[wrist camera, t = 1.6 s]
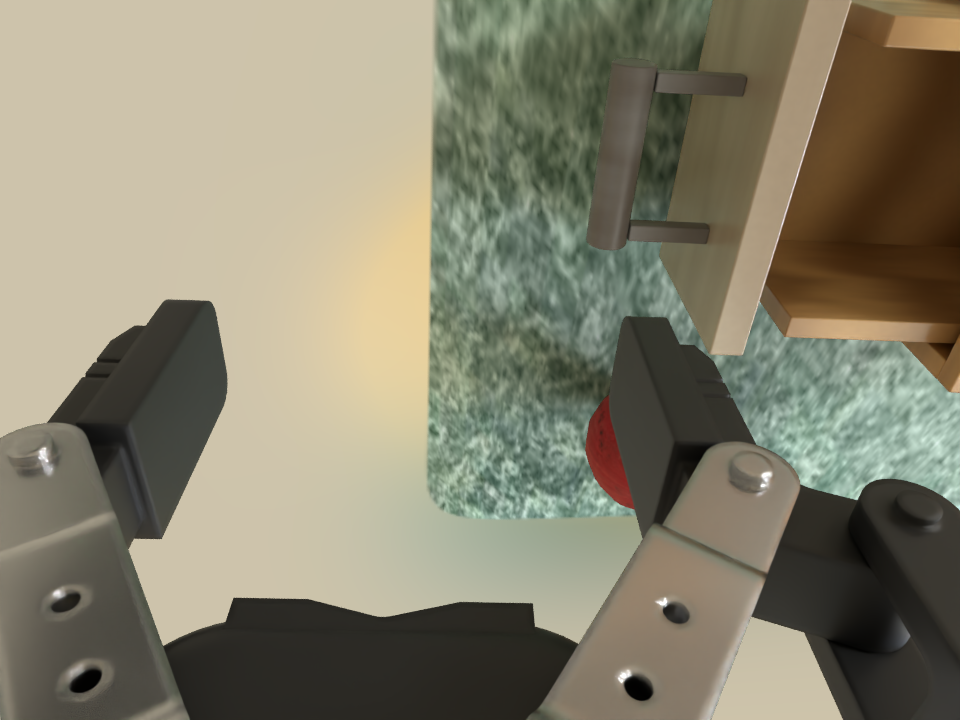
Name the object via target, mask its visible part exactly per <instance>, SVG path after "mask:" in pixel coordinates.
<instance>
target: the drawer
mask: <svg viewBox="0 0 960 720" xmlns="http://www.w3.org/2000/svg"><path fill="white" fill-rule="evenodd" d="M653 90H654V91H655V92H656V93H675V94H693V97H692V101H691V106H690V111H689V116H688V120H687V125H686V130H685V135H684V139H683V144H682V149H681V154H680V159H679V163H678V168H677V173H676V178H675V182H674V187H673V192H672V197H671V201H670V206H669V211H668V216H667V220H666V221H652V220H630V218H631V212H632V206H633V201H634V195H635V190H636V184H637V179H638V173H639V167H640V162H641V156H642V151H643V145H644V140H645V134H646V128H647V123H648V117H649V112H650V106H651V101H652V95H653ZM627 239H628V240H629V241H644V242H662V244H661V249H660V254H659V257H660V259H661V261H662V263H663V265H664V266H665V268H666V270H667V272H668V274H669V276H670V278H671V280H672V282H673V284H674V286H675V288H676V290H677V292H678V294H679V296H680V298H681V300H682V302H683V304H684V306H685V308H686V310H687V311H688V313H689V315H690V317H691V319H692V321H693V323H694V325H695V327H696V329H697V331H698V333H699V335H700V337H701V339H702V341H703V343H704V345H705V347H706V349H707V351H708V353H709V354H713V355H743V353H744V349H745V346H746V343H747V340H748V336H749V333H750V330H751V327H752V323H753V320H754V317H755V314H756V310H757V307H758V304H759V301H760V302H761V304H762V305H763V307H764V308H765V310H766V311H767V312H768V314H769V315H770V317H771V318H772V320H773V321H774V322H775V324H776V325H777V327H778V328H779V330H780V331H781V333H782V334H783V335H784V337H800V338H826V339H853V340H879V341H906V342H933V343H956V341H957V339H958V337H959V335H960V0H713V1H712V6H711V11H710V16H709V20H708V25H707V30H706V35H705V39H704V44H703V49H702V54H701V59H700V63H699V68H698V71H687V70H668V69H657V64H656V63H654V62H651V61H648V60H643V59H635V58H619V59H615V60H613V61H612V64H611V71H610V78H609V85H608V92H607V98H606V105H605V112H604V119H603V126H602V133H601V140H600V147H599V153H598V160H597V167H596V174H595V181H594V188H593V195H592V202H591V208H590V215H589V222H588V229H587V236H586V241H587V243H588V244H589V245H591V246H593V247H595V248H598V249H603V250H618V249H621V248H623V247H624V246H625V244H626V240H627Z"/></svg>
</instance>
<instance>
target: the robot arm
mask: <svg viewBox="0 0 960 720" xmlns="http://www.w3.org/2000/svg"><path fill="white" fill-rule="evenodd" d="M226 394H227V372H226V366H225V360H224V354H223V349H222V344H221V338H220V333H219V327H218V322H217V316H216V312H215V308H214V306H213V304H212V303H211V302H210V301H195V300H165V301H164V302H163V303H162V304H161V306H160V307H159V308H158V310H157V311H156V312H155V314H154V315H153V317H152V318H151V319H150V321H149V322H148V323H147V325H146V326H134V327H132V328H130V329H129V330H127V331H126V332H124V333H122V334H121V335H119V336H118V337H116V338H115V339H113V340H111V341H110V343H109V344H108V345H107V346H106V348H105V349H104V350H103V352H102V353H101V354H100V356H99V357H98V358H97V362H94V363H93V364H92V366H91V367H90V368H89V370H88V371H87V372H86V376H85V377H83V378H81V380H80V381H79V382H78V384H77V385H76V386H75V387H74V389H73V390H72V391H71V393H70V394H69V395H68V397H67V398H66V399H65V401H64V402H63V403H62V404H61V406H60V407H59V408H58V409H57V411H56V412H55V413H54V415H53V416H52V417H51V418H50V420H49V421H48V422H47V423H43V424H36V425H32V426H28V427H25V428H22V429H19V430H16V431H14V432H11V433H9V434H7V435H5V436H3V437H1V438H0V718H1V720H711V719H712V716H713V714H714V711H715V709H716V706H717V703H718V701H719V698H720V696H721V693H722V690H723V688H724V685H725V683H726V680H727V678H728V675H729V673H730V670H731V667H732V665H733V662H734V660H735V657H736V655H737V652H738V649H739V647H740V644H741V642H742V639H743V637H744V634H745V632H746V629H747V626H748V624H749V621H750V619H751V617H754V618H758V619H761V620H764V621H768V622H771V623H774V624H778V625H781V626H784V627H788V628H791V629H794V630H798V631H801V632H804V633H805V635H806V637H807V640H808V642H809V644H810V646H811V649H812V651H813V653H814V655H815V658H816V660H817V662H818V664H819V667H820V669H821V671H822V673H823V676H824V678H825V680H826V682H827V684H828V687H829V689H830V691H831V693H832V696H833V698H834V700H835V702H836V705H837V707H838V709H839V711H840V714H841V716H842V718H843V720H960V511H959V509H958V508H957V507H955V506H954V505H953V504H952V503H951V502H950V501H948V500H947V499H945V498H944V497H943V496H941V495H939V494H938V493H936V492H934V491H932V490H930V489H928V488H926V487H923V486H921V485H918V484H915V483H912V482H908V481H904V480H898V479H881V480H876V481H873V482H870V483H869V484H868V485H866V486H865V487H864V489H863V490H862V492H861V494H860V496H859V498H858V500H854V499H850V498H846V497H842V496H838V495H834V494H830V493H826V492H822V491H818V490H814V489H811V488H808V487H805V486H803V485H800V480H799V477H798V475H797V473H796V472H795V470H794V469H793V468H792V466H791V465H790V464H789V463H788V462H787V461H785V460H784V459H783V458H782V457H780V456H779V455H777V454H776V453H774V452H772V451H770V450H768V449H766V448H763V447H760V446H757V445H756V443H755V441H754V439H753V437H752V435H751V434H750V432H749V430H748V428H747V426H746V424H745V422H744V420H743V418H742V416H741V414H740V412H739V410H738V408H737V406H736V404H735V402H734V400H733V398H730V393H729V391H728V389H727V387H726V385H725V383H723V379H722V377H721V375H720V373H719V371H718V369H717V367H716V365H715V363H714V361H712V360H711V359H710V358H709V357H708V356H706V355H705V354H704V353H703V352H702V351H700V350H699V349H698V348H697V347H696V346H695V345H679V342H678V340H677V338H676V336H675V334H674V331H673V329H672V327H671V325H670V323H669V321H668V319H667V318H661V317H632V316H626V317H625V318H624V319H623V322H622V325H621V329H620V335H619V340H618V346H617V351H616V356H615V362H614V367H613V373H612V378H611V383H610V391H609V411H610V418H611V422H612V426H613V429H614V433H615V437H616V441H617V444H618V448H619V452H620V456H621V459H622V463H623V467H624V471H625V474H626V478H627V482H628V486H629V489H630V493H631V497H632V501H633V505H634V508H635V512H636V516H637V520H638V523H639V527H640V531H641V535H642V538H643V540H642V541H641V543H640V545H639V546H638V548H637V550H636V551H635V553H634V554H633V556H632V558H631V559H630V561H629V563H628V564H627V566H626V568H625V569H624V571H623V573H622V574H621V576H620V577H619V579H618V581H617V582H616V584H615V586H614V587H613V589H612V590H611V592H610V594H609V595H608V597H607V599H606V600H605V602H604V604H603V605H602V607H601V608H600V610H599V612H598V614H597V615H596V617H595V618H594V620H593V622H592V623H591V625H590V627H589V628H588V630H587V631H586V633H585V635H584V636H583V638H582V640H581V641H580V643H579V644H578V643H576V642H573V641H572V640H570V639H568V638H566V637H564V636H561V635H559V634H556V633H553V632H551V631H548V630H545V629H541V628H538V627H535V623H534V612H533V604H532V603H530V604H529V603H482V602H481V603H479V602H459V603H453V604H449V605H443V606H439V607H434V608H429V609H424V610H419V611H414V612H409V613H405V614H400V615H395V616H390V617H377V616H372V615H368V614H364V613H360V612H356V611H352V610H348V609H345V608H340V607H336V606H332V605H328V604H325V603H321V602H317V601H313V600H309V599H270V598H269V599H267V598H233V601H232V604H231V607H230V610H229V613H228V616H227V620H226V622H224V623H219V624H215V625H212V626H209V627H205V628H202V629H199V630H196V631H194V632H191V633H189V634H187V635H184V636H182V637H179V638H178V639H176V640H174V641H172V642H170V643H168V644H166V645H164V646H163V645H162V642H161V640H160V637H159V634H158V631H157V628H156V625H155V623H154V620H153V617H152V614H151V612H150V609H149V606H148V603H147V601H146V598H145V595H144V592H143V590H142V587H141V584H140V581H139V578H138V575H137V573H136V570H135V567H134V564H133V562H132V559H131V556H130V553H129V550H128V549H129V547H130V545H131V543H132V541H133V539H134V538H135V539H162V537H163V535H164V533H165V531H166V528H167V526H168V524H169V522H170V520H171V518H172V515H173V513H174V511H175V509H176V507H177V505H178V503H179V500H180V498H181V496H182V494H183V492H184V490H185V488H186V486H187V483H188V481H189V479H190V477H191V475H192V473H193V471H194V468H195V466H196V464H197V462H198V460H199V458H200V456H201V453H202V451H203V449H204V447H205V445H206V443H207V441H208V438H209V436H210V434H211V432H212V430H213V428H214V426H215V423H216V421H217V419H218V417H219V415H220V413H221V410H222V408H223V406H224V403H225V400H226Z"/></svg>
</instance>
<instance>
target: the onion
mask: <svg viewBox="0 0 960 720" xmlns="http://www.w3.org/2000/svg"><path fill="white" fill-rule="evenodd" d="M585 451H586V455H587V459H588V462H589V464H590V467H591V469H592V472H593V474H594V477H595V479H596V480H597V482H598V483H599V485H600V486H601V487H602V488H603V489H604V490H605V491H606V492H607V493H608V494H609V495H610V496H611V497H612V498H613V499H614V500H615V501H616V502H618V503H619V504H620V505H623V506H625V507H628V508H631V509H635V508H634V505H633V501H632V497H631V493H630V489H629V486H628V482H627V478H626V474H625V471H624V467H623V463H622V459H621V456H620V452H619V448H618V444H617V441H616V437H615V433H614V429H613V426H612V422H611V418H610V411H609V395H608V396H607V397H605V398H604V399H603V401H602V402H601V403H600V405H599V406H598V408H597V410H596V411H595V413H594V414H593V416H592V418H591V419H590V421H589V427H588V433H587V439H586V448H585Z"/></svg>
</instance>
